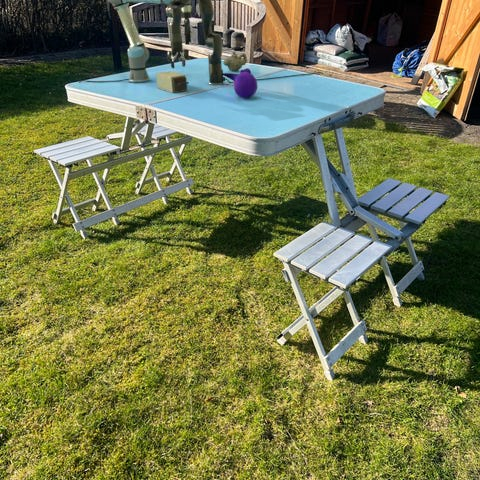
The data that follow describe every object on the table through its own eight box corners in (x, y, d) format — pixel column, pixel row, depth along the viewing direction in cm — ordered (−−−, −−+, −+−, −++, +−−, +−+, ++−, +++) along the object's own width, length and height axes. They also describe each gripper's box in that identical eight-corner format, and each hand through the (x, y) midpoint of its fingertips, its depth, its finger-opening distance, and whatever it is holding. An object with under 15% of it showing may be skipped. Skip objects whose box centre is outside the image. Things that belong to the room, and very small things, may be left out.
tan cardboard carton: (186, 90, 309) (185, 75, 304) (172, 92, 303) (171, 77, 298) (171, 85, 323) (170, 71, 317) (158, 88, 317) (156, 73, 312)
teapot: (227, 73, 359) (226, 53, 351) (220, 71, 367) (219, 51, 360) (250, 70, 368) (249, 51, 360) (242, 68, 376) (242, 49, 369)
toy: (243, 90, 304) (257, 103, 283) (218, 85, 297) (231, 99, 276) (249, 66, 296) (264, 78, 275) (224, 61, 289) (238, 73, 268)
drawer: (191, 90, 303) (190, 78, 299) (178, 92, 298) (177, 80, 294) (173, 85, 319) (171, 73, 315) (160, 87, 314) (159, 75, 310)
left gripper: (189, 13, 317) (191, 45, 327) (192, 10, 338) (194, 41, 349) (179, 13, 317) (181, 45, 327) (183, 10, 338) (185, 41, 349)
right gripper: (170, 42, 281) (172, 69, 289) (188, 39, 289) (190, 66, 297) (163, 41, 285) (166, 68, 294) (181, 39, 294) (183, 65, 302)
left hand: (188, 43), depth 338 cm, fingers open, 13 cm apart
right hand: (178, 67), depth 295 cm, fingers open, 8 cm apart
